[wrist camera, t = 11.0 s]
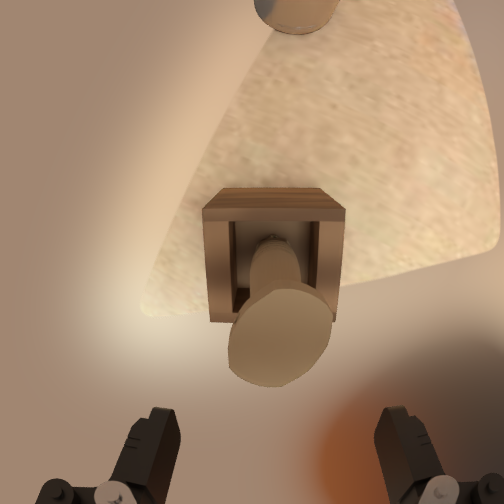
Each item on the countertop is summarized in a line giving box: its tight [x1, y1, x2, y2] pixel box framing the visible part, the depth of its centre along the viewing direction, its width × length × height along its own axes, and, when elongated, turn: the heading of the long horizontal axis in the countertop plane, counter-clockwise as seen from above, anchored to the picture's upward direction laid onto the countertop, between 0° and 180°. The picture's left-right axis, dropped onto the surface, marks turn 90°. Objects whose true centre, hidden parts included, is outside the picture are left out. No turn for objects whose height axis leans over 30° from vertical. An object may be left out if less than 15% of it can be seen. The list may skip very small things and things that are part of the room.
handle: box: [228, 234, 333, 387], centre depth 23 cm, size 5×6×15 cm
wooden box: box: [202, 188, 346, 323], centre depth 31 cm, size 10×11×12 cm
